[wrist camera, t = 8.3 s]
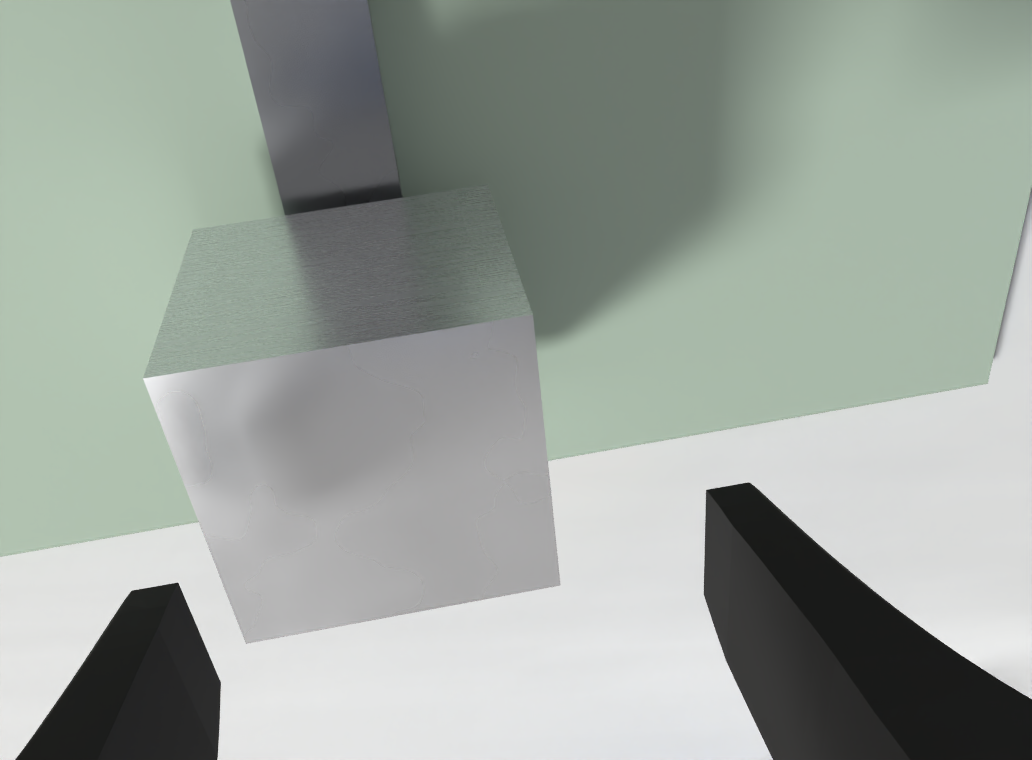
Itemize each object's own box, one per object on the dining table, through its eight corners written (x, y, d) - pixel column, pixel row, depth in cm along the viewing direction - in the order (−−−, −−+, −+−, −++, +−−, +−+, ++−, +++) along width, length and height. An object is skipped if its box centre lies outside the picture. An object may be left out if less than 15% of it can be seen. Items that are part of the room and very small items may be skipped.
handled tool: (370, -636, 12) (379, -792, 9) (502, 386, 22) (531, 501, 18) (-31, -603, 12) (-180, -752, 9) (278, 425, 21) (265, 548, 18)
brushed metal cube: (487, 184, 17) (532, 314, 13) (516, 418, 20) (560, 585, 16) (192, 229, 17) (143, 378, 13) (266, 462, 20) (246, 643, 16)
